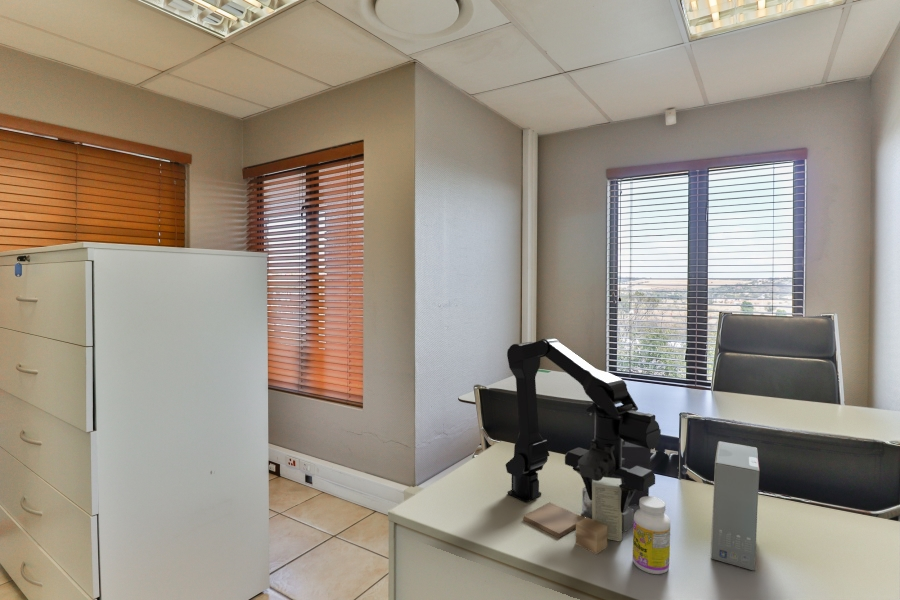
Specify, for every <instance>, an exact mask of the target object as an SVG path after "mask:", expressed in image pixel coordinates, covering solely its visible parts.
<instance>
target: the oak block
mask: <svg viewBox="0 0 900 600" xmlns="http://www.w3.org/2000/svg"><path fill="white" fill-rule="evenodd" d="M575 545H578V546H580V547H581V548H583V549H586V550H588V551H589V552H592V553H594V554H595V555H597V554H599V553H601V552H602V551H604V549H606V548H607V547H608V539H607V526H606V525H603V524H601V523H599V522H597V521H594V520H592V519H590V518H588V517H586V518H585V517H584V519H582V520H581V521H579V522H577V523H576V528H575Z"/></svg>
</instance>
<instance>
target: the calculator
mask: <svg viewBox="0 0 900 600" xmlns="http://www.w3.org/2000/svg"><path fill="white" fill-rule="evenodd" d="M651 450H652V449H648V448H645V447H641V446H638V445H635V444H631V443H628V442H625V445H623V446H622V458H624V459H625V463H624V464H622V467H624V468H627V469H631V468H633V467H635V466H639V467H642V468H646V469H649V470H650V464H651V454H652V453H651ZM603 477H607V476H603ZM610 478H618V479H621V481H622V483H624V477H621V476H618V475H615V474H612V475H611V476H610ZM649 491H650V487H649V488H648V489H646V490H645V491H638V490H636V491H635V493H634V495H633V497H632V499H631V501H630V503H629V505H628V506H639V500H640V498H642V497H645V496H649V495H650V492H649Z"/></svg>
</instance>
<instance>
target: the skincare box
mask: <svg viewBox="0 0 900 600" xmlns="http://www.w3.org/2000/svg"><path fill="white" fill-rule="evenodd" d="M621 484H622V481H621V479H618V478H610V477H603V478H602V479H601V480H600V481H595V480H593V479H592V520H594V521H597V522H599V523H601V524H603V525H606V526H607V540H610V541H617V542H622V539H623V538H622V535H623V534H622V532H623V531H622V513H621V492H622V491H621V489H620V487H619V485H621Z"/></svg>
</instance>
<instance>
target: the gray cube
mask: <svg viewBox="0 0 900 600" xmlns="http://www.w3.org/2000/svg"><path fill="white" fill-rule="evenodd" d="M633 527H634V508H631V507H629V506H628V507H627V509H626V511H625V512H624V513H622V532H623V533H625V532H626V531H627V530H629V529H630V528H633Z"/></svg>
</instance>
